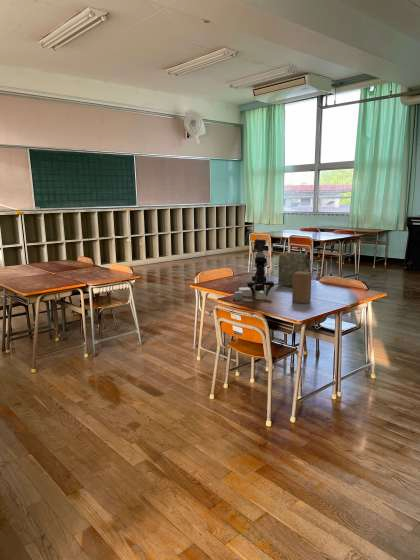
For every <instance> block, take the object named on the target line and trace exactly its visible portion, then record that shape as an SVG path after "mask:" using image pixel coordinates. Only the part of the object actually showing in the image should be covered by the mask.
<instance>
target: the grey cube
mask: <svg viewBox="0 0 420 560" xmlns="http://www.w3.org/2000/svg"><path fill="white" fill-rule="evenodd" d="M233 297H234V298H235V299H234V300H235V301H243V300H244V297H243V293H242V291H239V290H237V291H234V295H233Z"/></svg>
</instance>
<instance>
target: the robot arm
mask: <svg viewBox="0 0 420 560" xmlns="http://www.w3.org/2000/svg"><path fill="white" fill-rule="evenodd" d="M253 243H254V246H255V249H256V252H257V253H256V254H255V257H254V268H255V273H254V275H253V276H251V281H246V283H245V286H246V287H249V288H250V289H251V296H252V297H255V293H256V291H263V292H264V293H265V297H267V296H268V294H269V292H270V290H271V289H272V288H273V287H275V283H274V281H272V280H267V277H266V275H265V274H266V271H265V268H266V267H267V266H268V259H267V257H266V254H265V253H264V249H265V248H266V245H267V239H265V238H256V239H254V242H253ZM265 287H266V290H265Z"/></svg>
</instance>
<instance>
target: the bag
mask: <svg viewBox="0 0 420 560" xmlns="http://www.w3.org/2000/svg"><path fill="white" fill-rule="evenodd" d="M279 253H280V254H279V257H278V277H277V279H278V280H277V281H278V283H277V285H278V286H280V287H281V286H283V287H290V288H293V273H296V272H298V271H302V272H311V263H310V262H311V261H310V255H309V254H308V253H305V252H295V251H292V252H289V251H285V252H279Z"/></svg>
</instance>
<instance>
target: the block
mask: <svg viewBox="0 0 420 560" xmlns="http://www.w3.org/2000/svg"><path fill="white" fill-rule="evenodd" d="M311 297H312V272H311V271H310V272H302V271H298V272H296V273H293V287H292V297H291V300H292V301H291V303H294V304H302V305H305V304H308V303H309V302H311Z"/></svg>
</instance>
